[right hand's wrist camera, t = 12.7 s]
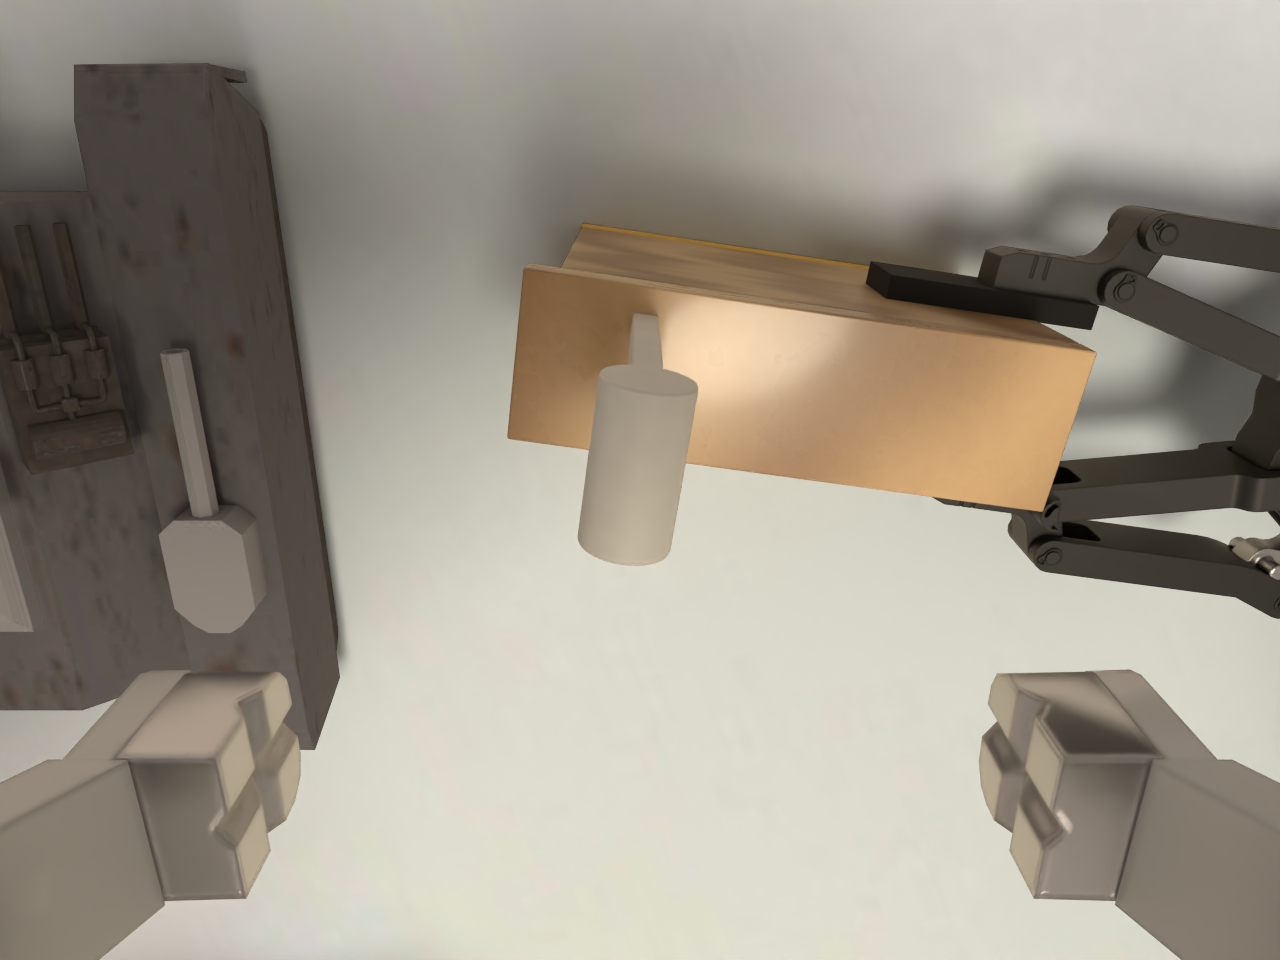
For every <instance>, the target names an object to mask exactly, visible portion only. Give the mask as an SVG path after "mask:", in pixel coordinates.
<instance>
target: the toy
mask: <svg viewBox="0 0 1280 960" xmlns="http://www.w3.org/2000/svg"><path fill="white" fill-rule="evenodd" d="M229 83H247V80H246V74H245V72H244V71H239V70H234V69H229V68H224V67H219V66H214V65H209V64H208V63H187V64H88V65H74V122H75V127H76V131H77V136H78V141H79V146H80V151H81V156H82V161H83V165H84V170H85V175H86V180H87V185H88V190H89V191H0V710H85V709H88V708H90V707H93V706H96V705H99V704H102V703H105V702H107V701H110V700H113V699H116V698H119V696H120V695H121V694H122V693H123V692H124V691H125V690H126V689H127V688H128V686H129V685H130V684H131V683H132V682H133V681H134V680H135V679H136V678H137V677H138V676H139V674H141V673H145V672H148V671H152V670H189V671H195V670H196V671H245V672H279V673H281V674H282V675H283V676H284V677H285V678H286V679H287V682H288V687H289V691H290V696H291V701H292V705H291V707H290V709H289V710H288V712H287V714H286V716H285V717H284V719H283V722H284V723H285V724H286V725H287V726H288V727H289V728H290V729H291V730H292V731H293V732H294V733H295V734H296V735H297V736H298V741H299V748H300V750H315V748H316V745H317V742H318V740H319V737H320V734H321V731H322V728H323V725H324V722H325V719H326V716H327V713H328V711H329V708H330V705H331V702H332V699H333V696H334V693H335V690H336V687H337V684H338V681H339V679H340V675H339V668H338V660H337V653H336V650H337V641H338V627H337V620H336V613H335V606H334V599H333V592H332V585H331V578H330V571H329V564H328V557H327V550H326V543H325V536H324V529H323V522H322V515H321V508H320V501H319V494H318V487H317V480H316V473H315V466H314V459H313V452H312V445H311V438H310V431H309V424H308V417H307V410H306V403H305V396H304V389H303V382H302V375H301V368H300V361H299V354H298V347H297V341H296V334H295V327H294V320H293V313H292V306H291V299H290V292H289V285H288V278H287V271H286V264H285V257H284V250H283V243H282V236H281V229H280V222H279V215H278V208H277V201H276V194H275V187H274V180H273V173H272V166H271V159H270V152H269V145H268V138H267V132H266V130H265V128H264V125H263V123H262V121H261V119H260V117H259V113H258V112H257V111H256V110H255V109H254V108H253V107H252V106H251V105H250V104H249V103H248V102H247V101H246V100H245V99H244V98H243V97H242V96H241V95H240V94H239V93H238V92H237V91H236V90H235V89H234V88H233V87H232V86H231V85H230V84H229Z"/></svg>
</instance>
